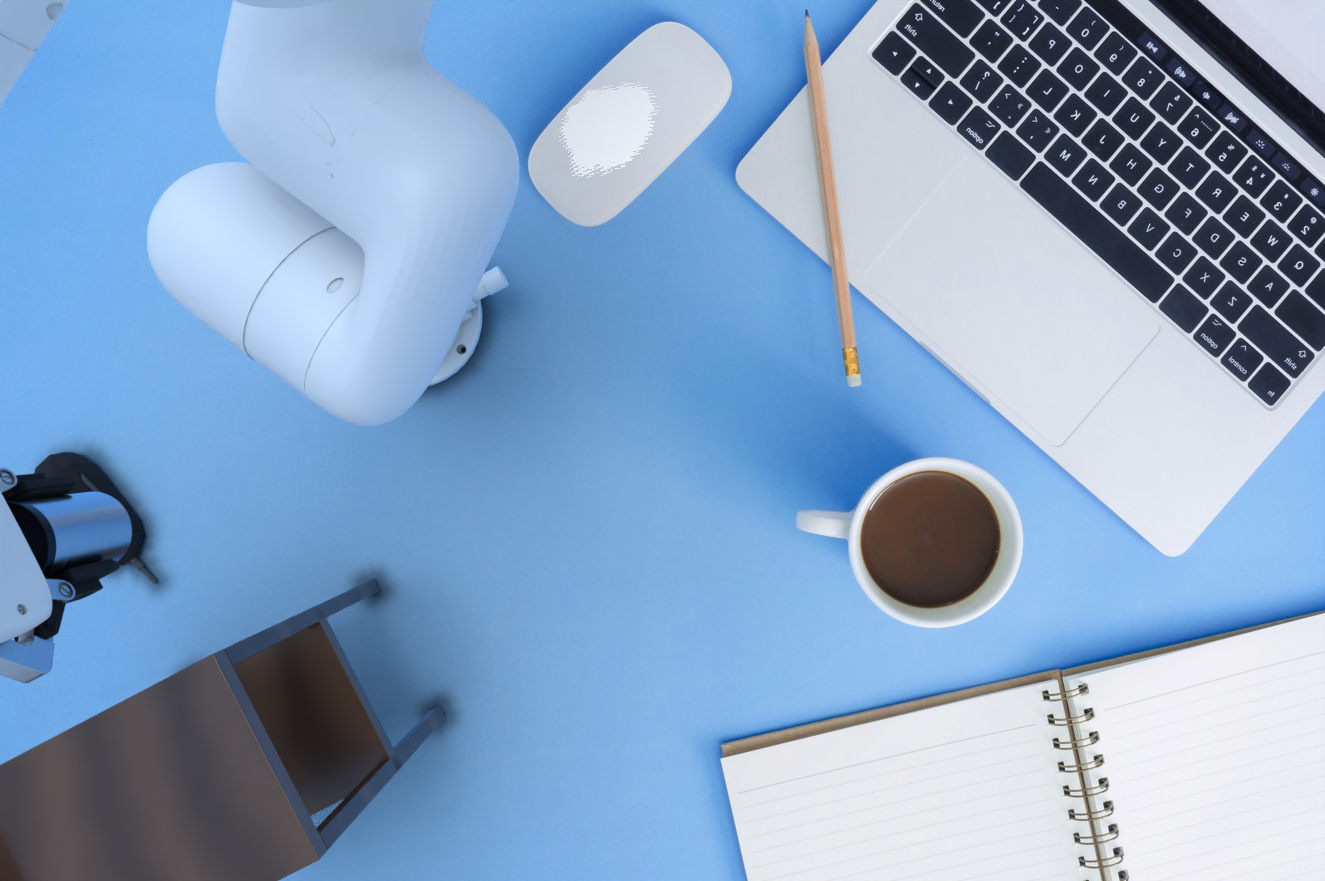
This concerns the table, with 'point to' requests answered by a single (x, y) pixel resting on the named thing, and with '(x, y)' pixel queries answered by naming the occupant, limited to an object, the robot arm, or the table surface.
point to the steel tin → (73, 529)
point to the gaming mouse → (94, 481)
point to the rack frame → (322, 713)
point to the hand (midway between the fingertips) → (74, 533)
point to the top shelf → (158, 792)
